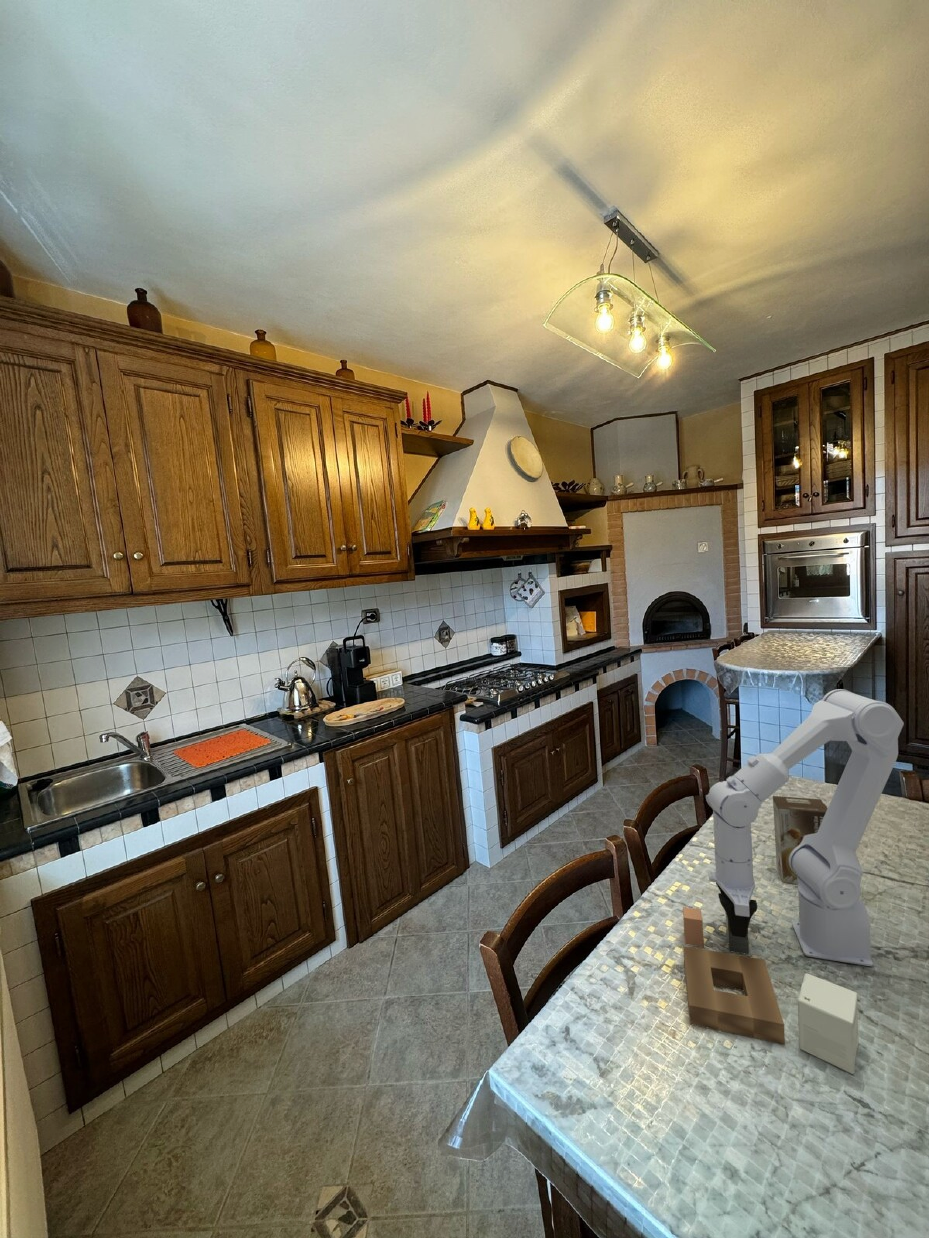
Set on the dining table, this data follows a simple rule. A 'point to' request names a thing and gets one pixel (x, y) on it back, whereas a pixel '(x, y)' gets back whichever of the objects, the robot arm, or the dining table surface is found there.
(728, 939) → the long metal pin
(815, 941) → the robot arm
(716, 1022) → the hole block
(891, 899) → the dining table surface
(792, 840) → the coffee box
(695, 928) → the orange brown block
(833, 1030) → the product box
